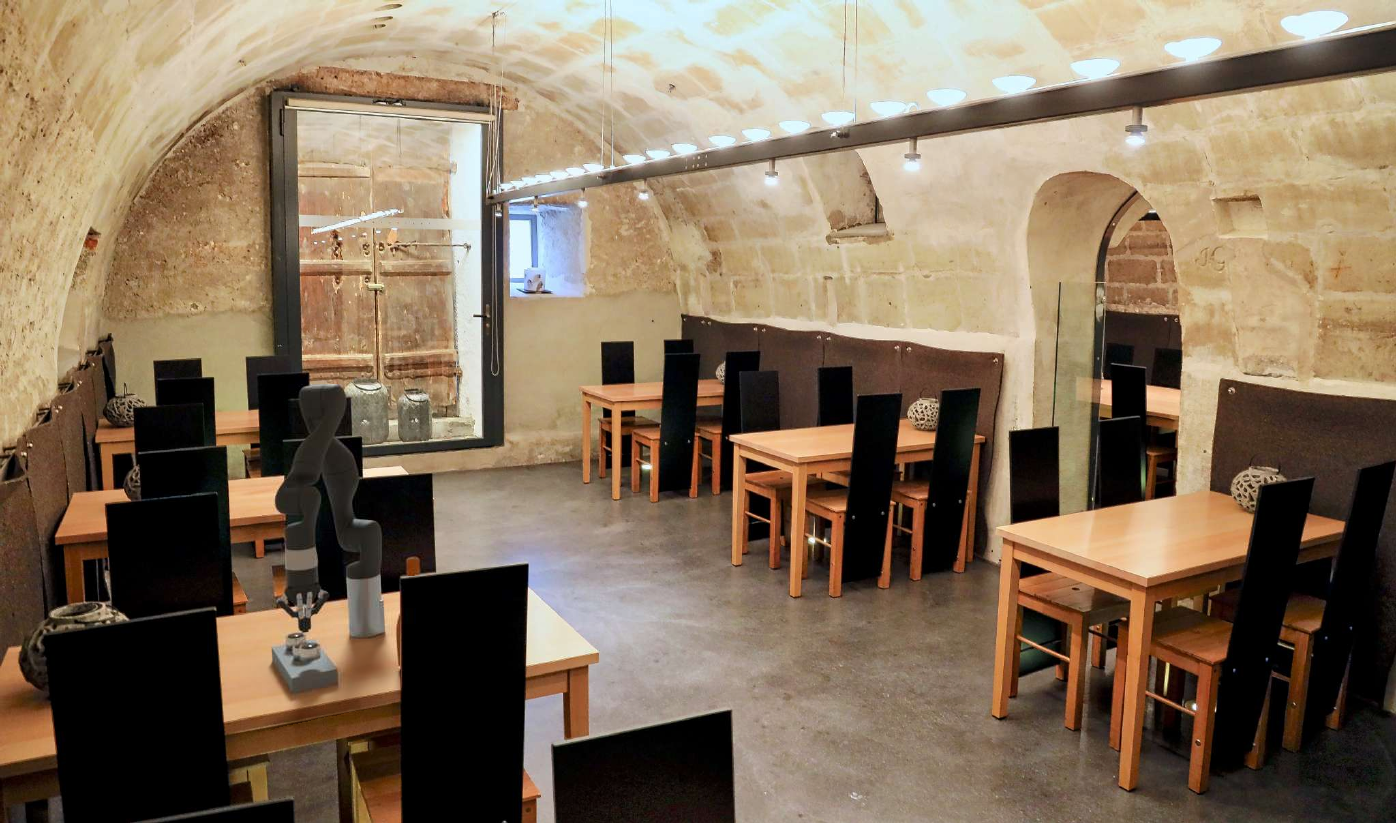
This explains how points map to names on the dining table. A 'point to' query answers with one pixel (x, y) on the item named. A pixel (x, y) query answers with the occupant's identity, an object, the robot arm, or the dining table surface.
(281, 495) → the robot arm
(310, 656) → the knob
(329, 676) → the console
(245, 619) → the dining table surface
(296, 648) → the knob
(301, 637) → the knob
